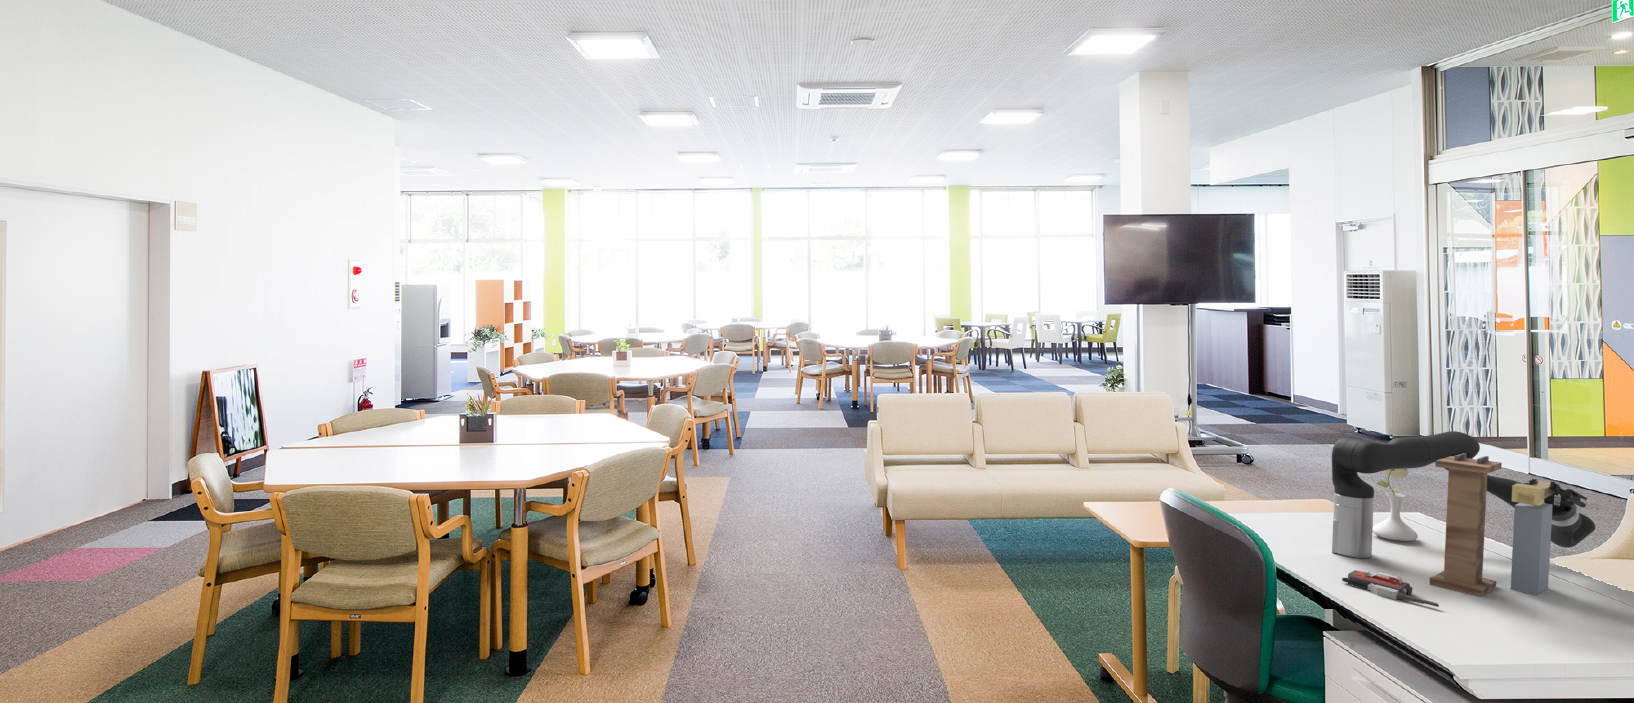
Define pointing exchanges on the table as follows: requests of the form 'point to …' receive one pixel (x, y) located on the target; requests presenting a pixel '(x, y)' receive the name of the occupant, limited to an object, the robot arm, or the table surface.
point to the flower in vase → (1394, 513)
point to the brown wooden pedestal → (1465, 525)
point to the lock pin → (1531, 493)
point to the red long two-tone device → (1384, 585)
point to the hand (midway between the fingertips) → (1542, 483)
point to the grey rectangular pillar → (1531, 548)
